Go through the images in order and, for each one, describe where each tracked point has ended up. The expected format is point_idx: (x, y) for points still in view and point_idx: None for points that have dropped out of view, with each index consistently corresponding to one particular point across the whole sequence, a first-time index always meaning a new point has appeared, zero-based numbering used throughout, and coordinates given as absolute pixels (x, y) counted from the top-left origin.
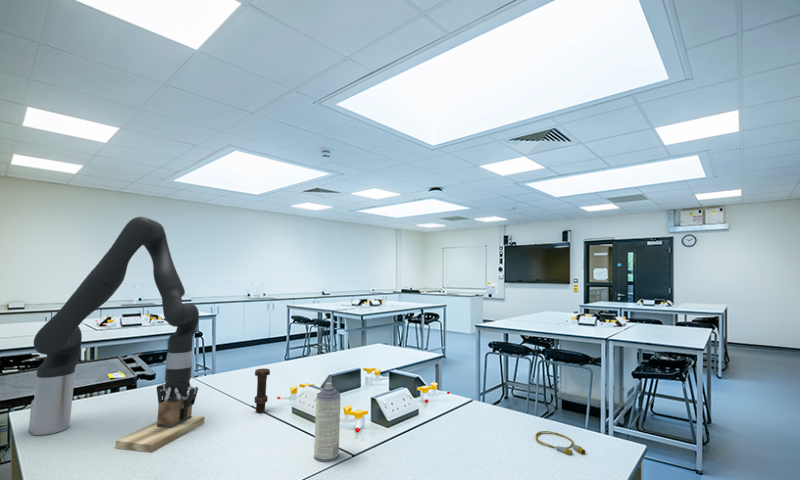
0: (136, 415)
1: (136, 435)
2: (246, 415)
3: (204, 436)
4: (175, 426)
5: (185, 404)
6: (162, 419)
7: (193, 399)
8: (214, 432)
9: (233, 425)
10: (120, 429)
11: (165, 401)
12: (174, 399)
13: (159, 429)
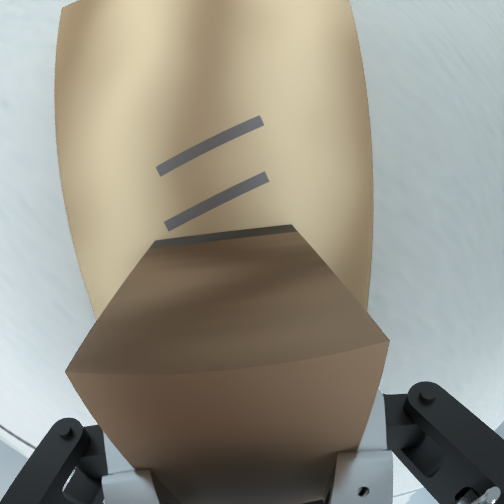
0: (491, 332)
1: (295, 44)
2: None
3: (10, 280)
4: None
5: (102, 448)
6: (246, 252)
7: (71, 490)
8: (20, 328)
9: (38, 395)
10: (485, 203)
11: (348, 435)
12: (285, 488)
13: (222, 189)
